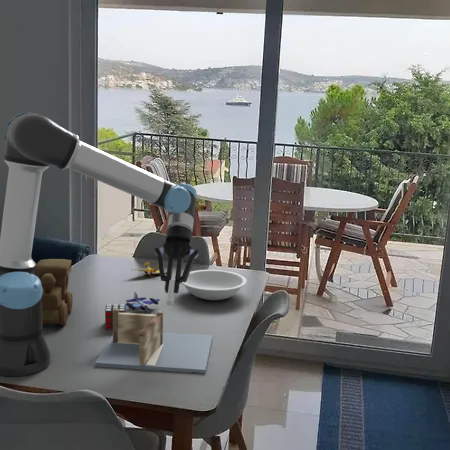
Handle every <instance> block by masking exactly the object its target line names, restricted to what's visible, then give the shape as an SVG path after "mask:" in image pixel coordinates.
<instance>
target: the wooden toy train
mask: <svg viewBox="0 0 450 450" xmlns="http://www.w3.org/2000/svg"><path fill="white" fill-rule="evenodd" d="M71 271H72V259H65V258H48V259H47V258H45V259H40V260H39V261H37V263H36V266H35V274H34V275H35V276H37V277H38V278H39V279H40V281H41V286H42V290H43V291H42V321H43V324H59V325H60V326H62V327H63V326H65V325H66V324H67V322H68V316H69V315H68V314H70V313H71V312H72V310H73V293H72V292H71V291H68V288H69V280H70V279H69V275H70V273H71Z"/></svg>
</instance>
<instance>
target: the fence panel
mask: <svg viewBox="0 0 450 450" xmlns="http://www.w3.org/2000/svg"><path fill="white" fill-rule="evenodd" d="M155 315H156V316H155V317H154V318H153V319H152V320H151V321H150V322H149V323H148V325H147V326H146V327H145V328H144V329H143V330H142V331H141V332H140V333H139V336H140V350H139V364H140V365H144V364H145V363H146V361H147V360H148V359H149V358H150V356H151V355H152V354H153V353H154V351H155V350H156V349H157V348H158V346H159V345H160V331H161V316H160V315H157V314H155Z"/></svg>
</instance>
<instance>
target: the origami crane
mask: <svg viewBox="0 0 450 450" xmlns="http://www.w3.org/2000/svg"><path fill="white" fill-rule="evenodd" d="M143 265H144V266H145V267H146V268H145V269H139V268H137V269H136V268H135V269H134V268H130V270H131V271H138V272H139V271H140V272H144V274H145V276H148V275H150V278H153V277H154V276H155V274H160V272H159V264H157V265H156V266H155V268H152V267H150V262H149V261H146V262H145V263H143ZM153 273H154V274H153ZM152 274H153V275H152Z"/></svg>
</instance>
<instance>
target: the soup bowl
mask: <svg viewBox="0 0 450 450" xmlns="http://www.w3.org/2000/svg"><path fill="white" fill-rule="evenodd" d="M247 283H248V281H247V278H246V277H245V276H243V275H242V274H239V273H237V272H234V271H229V270H221V269H197V270H191V271H190V274H189V276H188V279H187V281H186V282H181V283H180V285H181V284H182V286H185V289H186V290H187V291H188V292H189V293H190V294H191V295H193V296H194V297H196V298H198V299H202V300H207V301H208V300H209V301H220V300H221V301H222V300H226V299H229V298H232V297H233V296H234V295H236V294H237V293H239V291H240V290H241V289H242V288H243V287H245V286H246V285H247Z"/></svg>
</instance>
